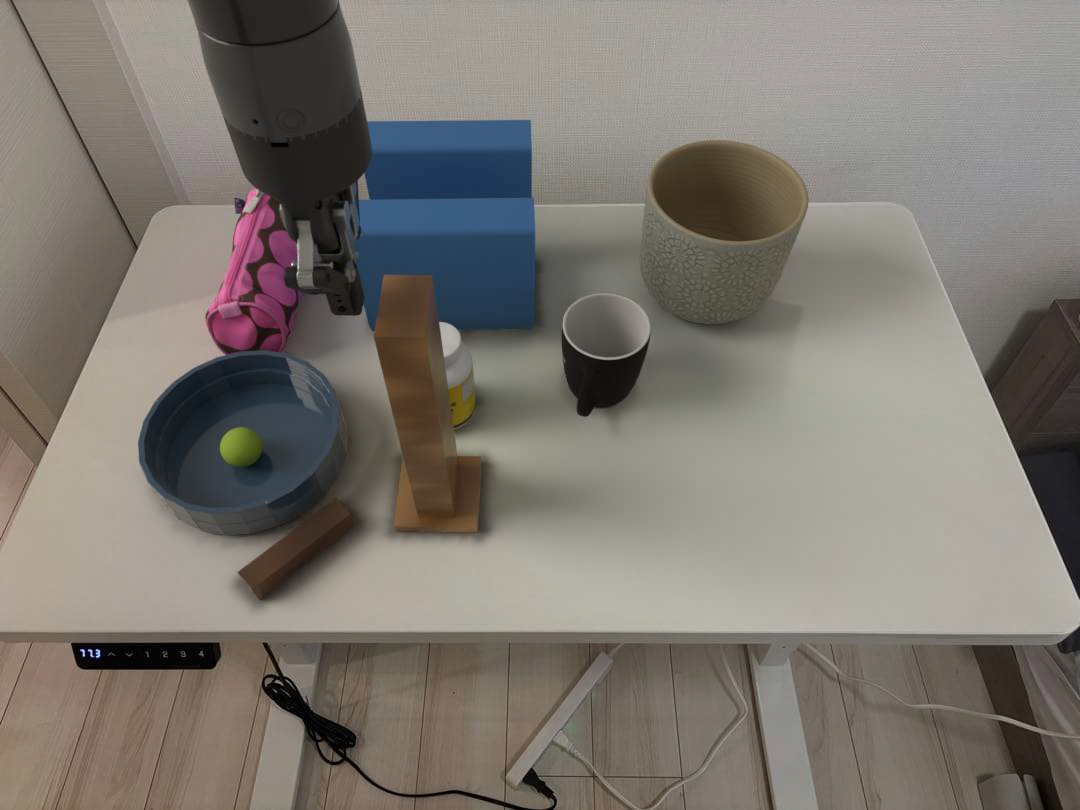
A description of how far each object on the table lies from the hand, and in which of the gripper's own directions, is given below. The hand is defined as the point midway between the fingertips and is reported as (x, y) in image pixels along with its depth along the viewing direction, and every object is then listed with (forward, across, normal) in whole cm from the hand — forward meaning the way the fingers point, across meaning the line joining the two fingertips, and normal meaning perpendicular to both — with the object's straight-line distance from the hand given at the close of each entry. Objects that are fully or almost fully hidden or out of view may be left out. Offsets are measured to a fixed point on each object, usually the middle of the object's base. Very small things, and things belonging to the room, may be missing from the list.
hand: (348, 308), depth 57 cm
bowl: (+28, -5, -16) cm, 32 cm away
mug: (+28, -13, +20) cm, 36 cm away
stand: (+28, 0, +4) cm, 28 cm away
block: (+28, -28, +4) cm, 39 cm away
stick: (+25, +6, -9) cm, 27 cm away
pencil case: (+28, -27, -18) cm, 43 cm away
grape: (+25, -4, -16) cm, 30 cm away
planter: (+28, -29, +34) cm, 52 cm away
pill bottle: (+28, -11, +4) cm, 30 cm away
